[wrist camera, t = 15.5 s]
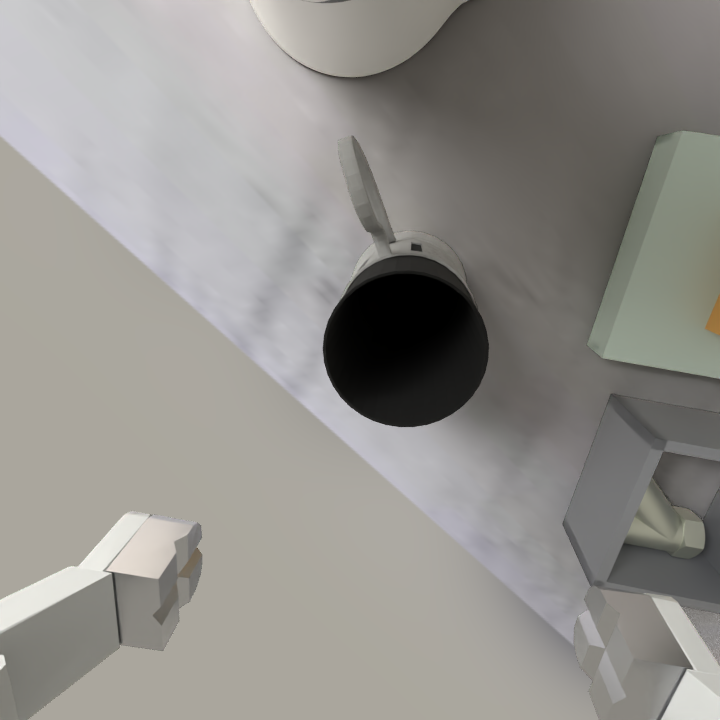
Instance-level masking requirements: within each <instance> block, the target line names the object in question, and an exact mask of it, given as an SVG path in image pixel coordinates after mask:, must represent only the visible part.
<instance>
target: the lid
mask: <svg viewBox="0 0 720 720" xmlns="http://www.w3.org/2000/svg"><path fill="white" fill-rule="evenodd" d="M587 346H588V347H590V348H591V349H592V350H593V351H594V352H595V353H597V354H598V355H599V356H600V357H601V358H604V359H610V360H615V361H621V362H627V363H632V364H638V365H644V366H650V367H655V368H661V369H667V370H672V371H678V372H684V373H690V374H695V375H701V376H707V377H712V378H718V379H720V136H718V135H711V134H704V133H698V132H691V131H684V130H682V131H678V132H674V133H670V134H666V135H662V136H658V137H657V140H656V143H655V146H654V149H653V152H652V155H651V157H650V160H649V163H648V166H647V169H646V172H645V175H644V178H643V181H642V184H641V187H640V190H639V193H638V196H637V199H636V202H635V205H634V208H633V211H632V213H631V216H630V219H629V222H628V225H627V228H626V231H625V234H624V237H623V240H622V243H621V246H620V249H619V252H618V255H617V258H616V261H615V264H614V267H613V270H612V272H611V275H610V278H609V281H608V284H607V287H606V290H605V293H604V296H603V299H602V302H601V305H600V308H599V311H598V314H597V317H596V320H595V323H594V326H593V329H592V331H591V334H590V337H589V340H588V343H587Z"/></svg>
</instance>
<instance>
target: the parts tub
mask: <svg viewBox="0 0 720 720" xmlns="http://www.w3.org/2000/svg"><path fill="white" fill-rule="evenodd" d="M663 451H665V452H671V453H676V454H681V455H687V456H692V457H698V458H703V459H709V460H714V461H719V462H720V413H715V412H709V411H704V410H698V409H693V408H687V407H681V406H676V405H670V404H665V403H659V402H653V401H648V400H642V399H637V398H631V397H625V396H620V395H614V394H611V396H610V398H609V401H608V404H607V406H606V409H605V412H604V414H603V417H602V420H601V423H600V425H599V428H598V431H597V433H596V436H595V439H594V441H593V444H592V447H591V449H590V452H589V455H588V457H587V460H586V463H585V465H584V468H583V471H582V473H581V476H580V479H579V482H578V484H577V487H576V490H575V492H574V495H573V498H572V500H571V503H570V506H569V508H568V511H567V514H566V516H565V519H564V522H563V526H564V529H565V531H566V533H567V535H568V537H569V540H570V542H571V544H572V546H573V548H574V551H575V553H576V555H577V557H578V559H579V562H580V564H581V566H582V568H583V570H584V573H585V575H586V577H587V579H588V581H589V584H590V586H591V587H592V586H593V585H594V586H601V587H608V588H614V589H621V590H627V591H634V592H641V593H649V594H656V595H663V596H670V597H672V598H673V599H675V600H676V601H677V602H678V603H679V605H680V606H683V607H688V608H693V609H698V610H703V611H708V612H713V613H718V614H720V488H719V490H718V492H717V494H716V496H715V498H714V500H713V502H712V504H711V506H710V508H709V510H708V512H707V514H706V516H705V518H704V520H703V524H704V529H705V545H704V549H703V551H702V552H701V553H699V554H698V555H697V556H695V557H693V558H690V559H684V558H679V557H674V556H671V555H670V554H669V553H668V552H667V551H663V550H658V549H652V548H647V547H642V546H636V545H631V544H626V543H624V540H625V538H626V536H627V533H628V531H629V529H630V527H631V524H632V522H633V520H634V517H635V515H636V513H637V510H638V508H639V506H640V504H641V501H642V499H643V497H644V494H645V492H646V490H647V488H648V485H649V483H650V481H651V478H652V476H653V474H654V472H655V469H656V467H657V465H658V462H659V460H660V458H661V456H662V453H663Z"/></svg>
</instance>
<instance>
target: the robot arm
mask: <svg viewBox="0 0 720 720" xmlns="http://www.w3.org/2000/svg"><path fill="white" fill-rule="evenodd" d="M249 1H250V3H251V5H252V7H253V9H254V11H255V13H256V15H257V17H258V19H259V21H260V22H261V24H262V25H263V27H264V28H265V30H266V31H267V33H268V34H269V35H270V36H271V38H272V39H273V40H274V41H275V42H276V43H277V44H278V45H279V46H280V47H281V48H282V49H283V50H284V51H285V52H286V53H287V54H288V55H290V56H291V57H292V58H294V59H295V60H297V61H298V62H300V63H301V64H303V65H305V66H307V67H309V68H311V69H313V70H316V71H318V72H321V73H325V74H328V75H333V76H340V77H362V76H368V75H373V74H377V73H380V72H383V71H386V70H388V69H390V68H393V67H395V66H397V65H399V64H400V63H402V62H404V61H405V60H407V59H409V58H410V57H411V56H413V55H414V54H415V53H417V52H418V51H419V50H420V49H421V48H422V47H423V46H424V45H426V44H427V43H428V42H429V41H430V39H431V38H432V37H433V36H434V35H435V34H436V33H437V31H438V30H439V29H440V28H441V26H442V25H443V24H444V23H445V21H446V20H447V19H448V18H449V16H450V15H451V14H452V13H453V12H454V11H455V10H456V9H457V8H458V7H459V6H460V5H461V4H463V3H464V2H466V1H468V0H249ZM201 538H202V531H201V525H200V524H199V523H197V522H191V521H187V520H181V519H176V518H171V517H165V516H159V515H151V514H146V513H140V512H135V511H130V512H128V513H126V514H124V515H123V516H122V518H121V519H120V520H119V521H118V522H117V523H116V524H115V525H114V527H113V528H112V529H111V530H110V531H109V532H108V533H107V534H106V536H105V537H104V538H103V539H102V540H101V541H100V542H99V544H98V545H97V546H96V547H95V548H94V549H93V550H92V551H91V553H90V554H89V555H88V556H87V557H86V558H85V559H84V560H83V562H82V563H81V564H80V565H79V566H78V567H73V566H70V567H68V568H65V569H63V570H61V571H59V572H57V573H55V574H53V575H51V576H49V577H47V578H45V579H42V580H40V581H38V582H36V583H35V584H32V585H30V586H28V587H26V588H24V589H22V590H20V591H18V592H16V593H13V594H11V595H9V596H7V597H5V598H3V599H1V600H0V720H28V719H29V718H30V717H32V716H33V715H34V714H35V713H37V712H38V711H39V710H41V709H42V708H43V707H44V706H46V705H47V704H48V703H49V702H51V701H52V700H53V699H55V698H56V697H57V696H59V695H60V694H61V693H62V692H64V691H65V690H66V689H68V688H69V687H70V686H71V685H73V684H74V683H75V682H76V681H78V680H79V679H80V678H82V677H83V676H84V675H85V674H87V673H88V672H89V671H91V670H92V669H93V668H94V667H96V666H97V665H98V664H100V663H101V662H102V661H103V660H105V659H106V658H107V657H109V655H111V654H112V653H114V652H115V651H116V650H118V649H119V648H120V645H124V646H131V647H138V648H145V649H152V650H159V651H163V650H164V648H165V647H166V645H167V643H168V641H169V639H170V637H171V635H172V634H173V632H174V630H175V628H176V626H177V624H178V622H179V608H181V607H182V606H184V605H185V604H187V603H188V602H190V600H191V598H192V596H193V594H194V592H195V590H196V587H197V584H198V581H199V578H200V575H201V569H202V554H201V552H200V551H199V550H198V548H197V545H198V543H199V542H200V540H201ZM584 600H585V602H586V605H587V607H588V610H586V611H585V612H583V613H582V614H580V615H579V616H578V618H577V621H576V624H575V627H574V647H575V653H576V657H577V659H578V663H579V665H580V668H581V669H582V670H583V671H584V672H585V673H586V674H587V675H588V676H589V677H590V679H591V680H592V684H591V686H590V689H589V693H590V696H591V699H592V702H593V705H594V707H595V710H596V713H597V715H598V718H599V720H720V665H719V664H718V662H717V661H716V659H715V658H714V656H713V655H712V653H711V652H710V650H709V649H708V647H707V646H706V644H705V643H704V641H703V640H702V638H701V636H700V635H699V633H698V632H697V630H696V629H695V627H694V626H693V624H692V623H691V621H690V620H689V618H688V617H687V615H686V614H685V612H684V611H683V609H682V608H681V606H680V605H679V603H678V602H677V601H676V600H675V599H673V598H672V597H670V596H663V595H656V594H649V593H641V592H634V591H627V590H621V589H614V588H608V587H601V586H594V585H593V586H592V587H591V588H589V589H588V591H587V594H586V596H585V599H584Z"/></svg>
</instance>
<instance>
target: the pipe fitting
mask: <svg viewBox="0 0 720 720" xmlns="http://www.w3.org/2000/svg"><path fill="white" fill-rule="evenodd" d="M624 543H626V544H631V545H636V546H642V547H647V548H652V549H658V550H663V551H667V552H668V553H669V554H670V555H671V556H674V557H679V558H684V559H690V558H693V557H695V556H697V555H698V554H699V553H701V552H702V551H703V549H704V545H705V529H704V524H703V522H702V521H701V519H700V518H699V517H698V516H697V515H696V514H695V513H693V512H692V511H691V510H689V509H687V508H681V507H676V506H671V505H670V503H669V502H668V500H667V499H666V497H665V496H664V494H663V493H662V491H661V490H660V488H659V487H658V485H657V484H656V482H655V481H654V479H653V478H651V481H650V483H649V485H648V488H647V490H646V492H645V494H644V497H643V499H642V501H641V504H640V506H639V508H638V510H637V513H636V515H635V517H634V520H633V522H632V524H631V527H630V529H629V531H628V533H627V536H626V538H625V540H624Z"/></svg>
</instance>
